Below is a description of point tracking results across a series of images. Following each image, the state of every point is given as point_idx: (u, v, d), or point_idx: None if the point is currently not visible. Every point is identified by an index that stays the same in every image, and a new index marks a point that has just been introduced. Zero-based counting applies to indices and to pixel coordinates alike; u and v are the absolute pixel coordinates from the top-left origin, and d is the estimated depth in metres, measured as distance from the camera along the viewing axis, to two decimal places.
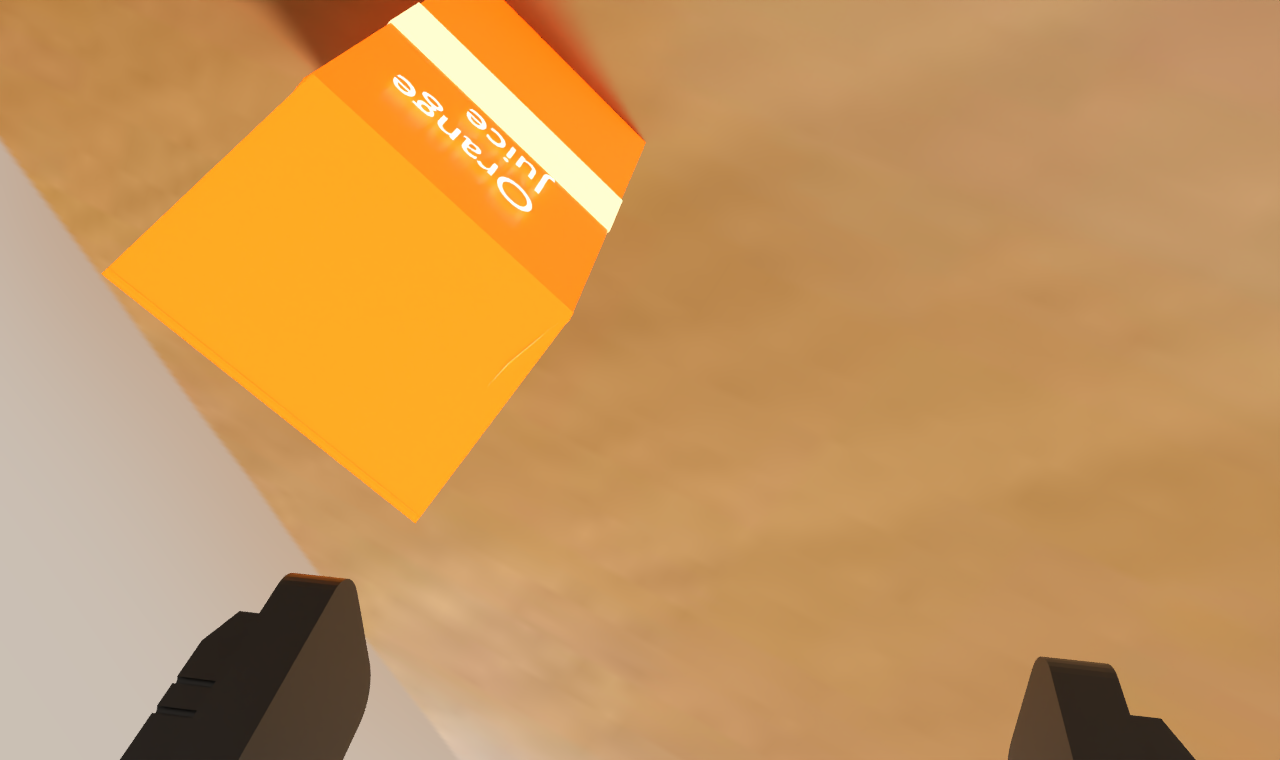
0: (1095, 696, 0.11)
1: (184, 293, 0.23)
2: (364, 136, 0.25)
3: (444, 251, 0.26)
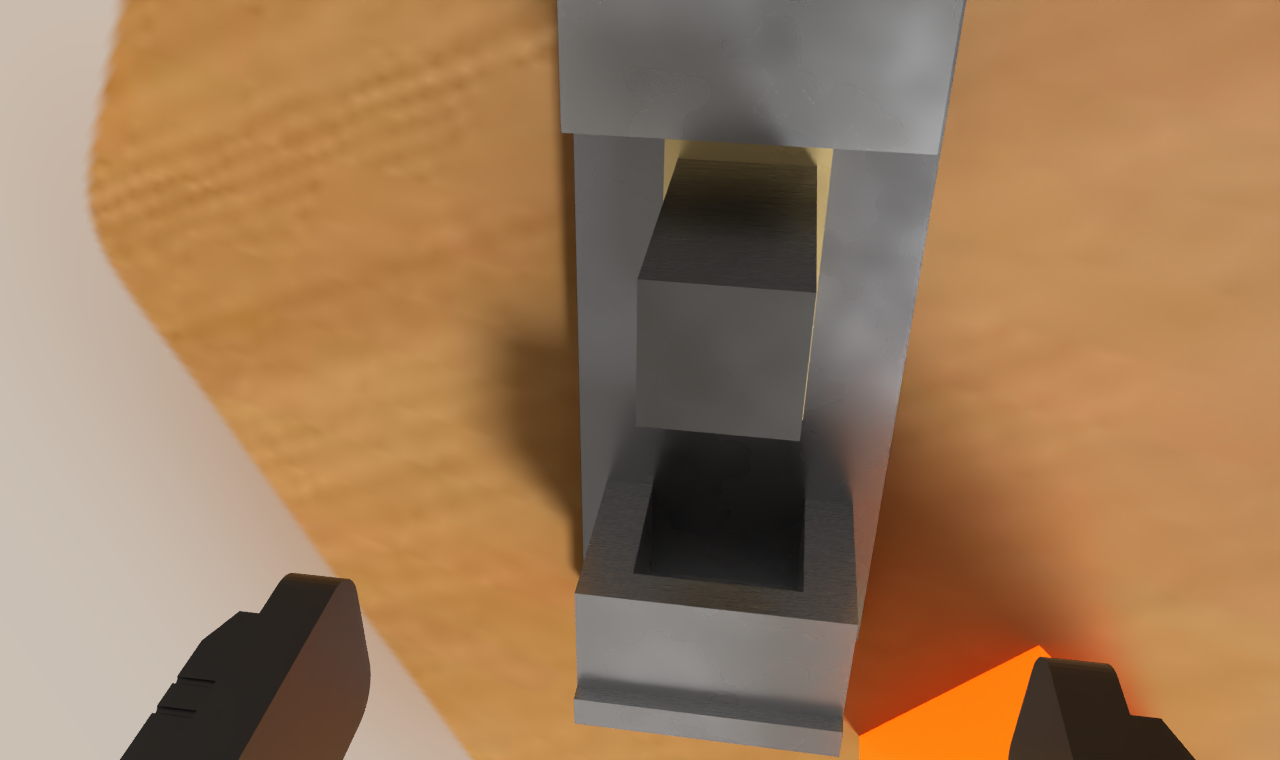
0: (1095, 696, 0.11)
1: None
2: None
3: None
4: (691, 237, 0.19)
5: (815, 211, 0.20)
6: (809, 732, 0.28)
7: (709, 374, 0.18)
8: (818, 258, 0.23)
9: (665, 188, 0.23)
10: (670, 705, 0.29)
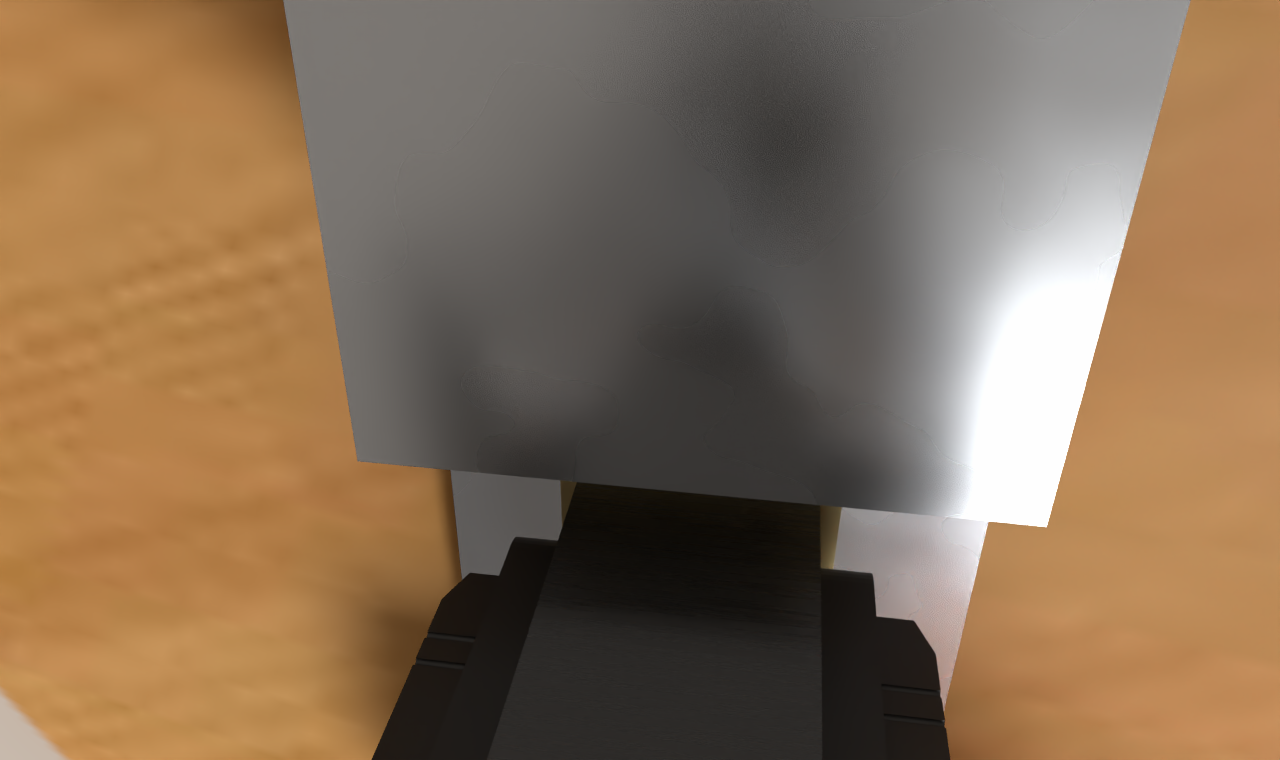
0: (849, 597, 0.12)
1: None
2: None
3: None
4: (576, 727, 0.10)
5: (818, 629, 0.11)
6: None
7: None
8: None
9: (564, 505, 0.14)
10: None
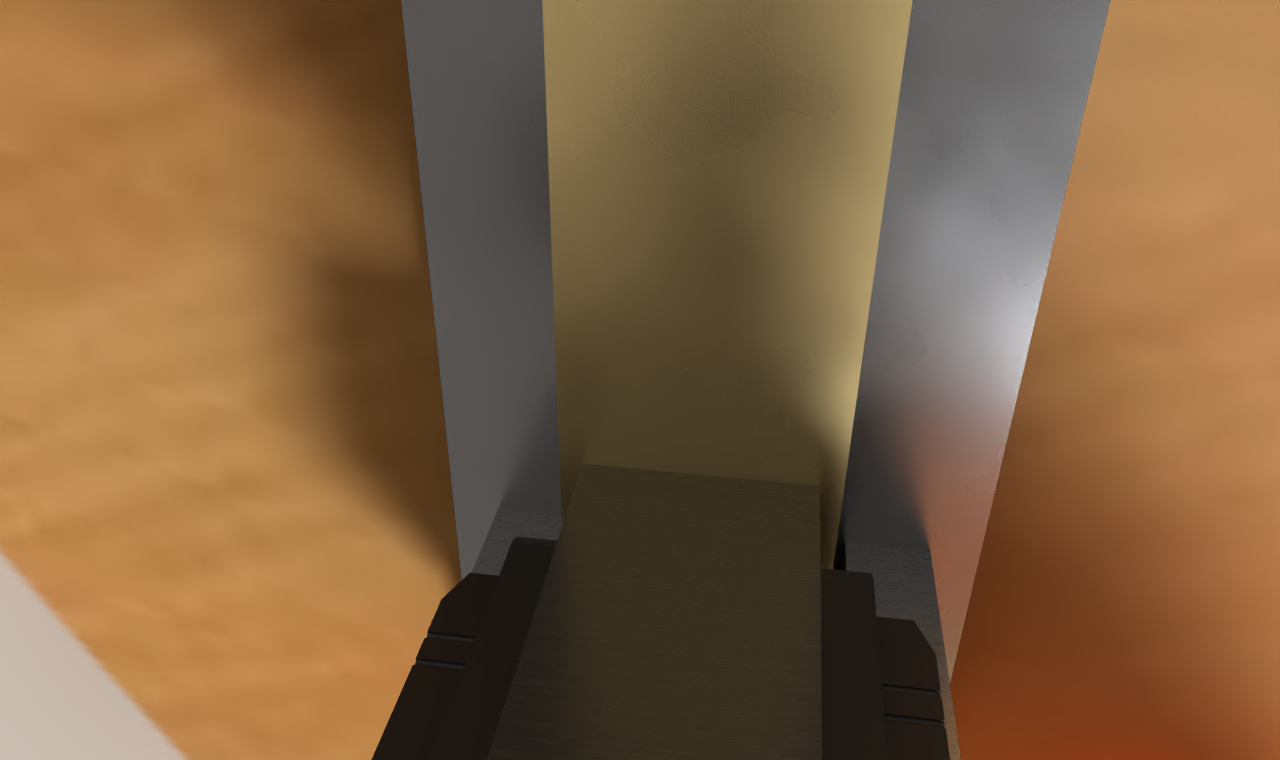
0: (849, 598, 0.12)
1: None
2: None
3: None
4: (575, 727, 0.10)
5: (818, 629, 0.11)
6: None
7: None
8: None
9: (564, 505, 0.14)
10: None
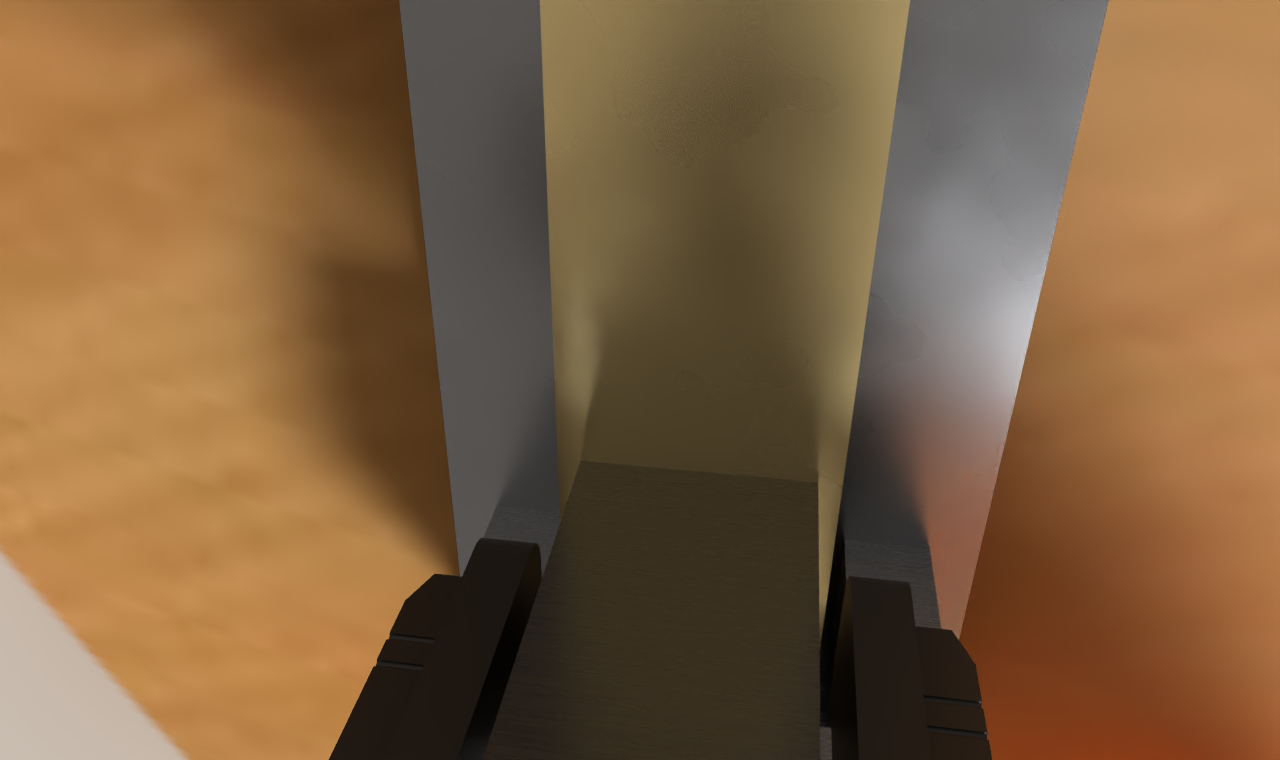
0: (887, 607, 0.12)
1: None
2: None
3: None
4: (573, 723, 0.10)
5: (816, 625, 0.11)
6: None
7: None
8: (820, 612, 0.14)
9: (562, 502, 0.14)
10: None
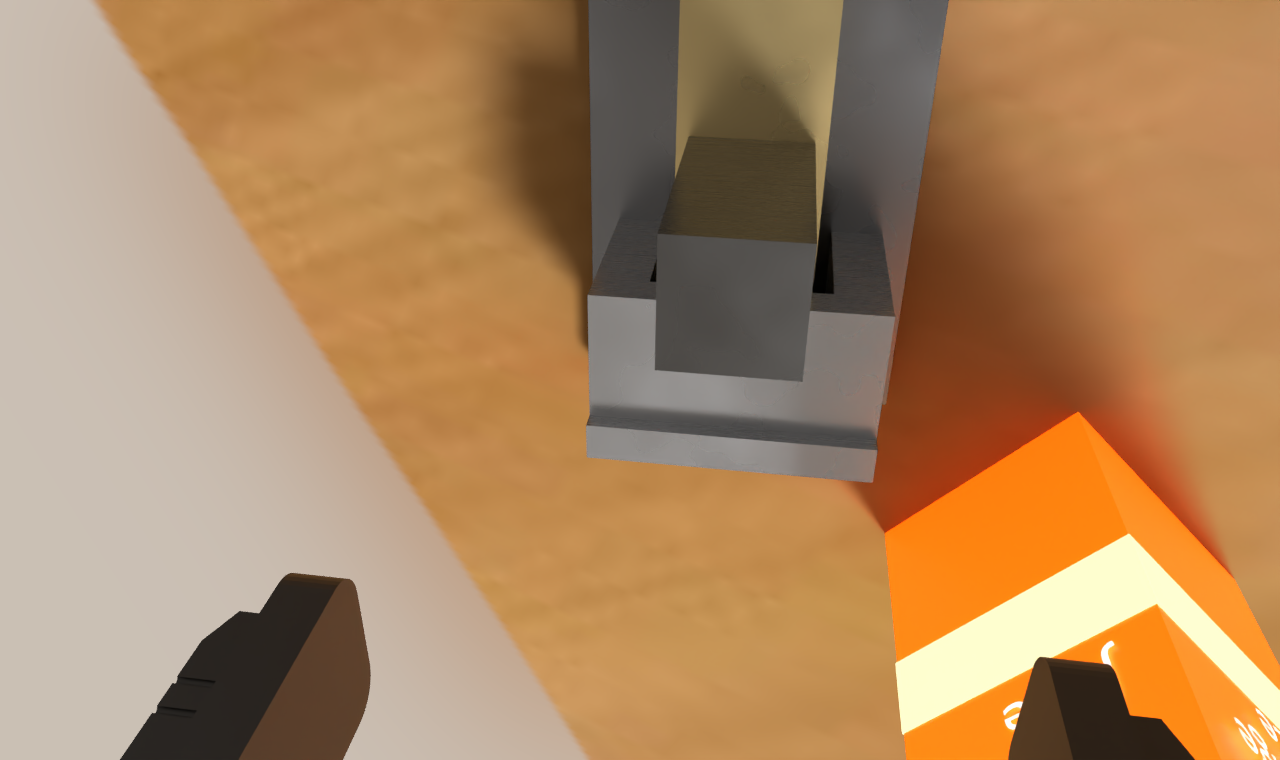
0: (1095, 696, 0.11)
1: None
2: None
3: None
4: (704, 200, 0.21)
5: (814, 179, 0.22)
6: (841, 453, 0.26)
7: (721, 320, 0.20)
8: (817, 227, 0.25)
9: (677, 164, 0.25)
10: (690, 430, 0.27)
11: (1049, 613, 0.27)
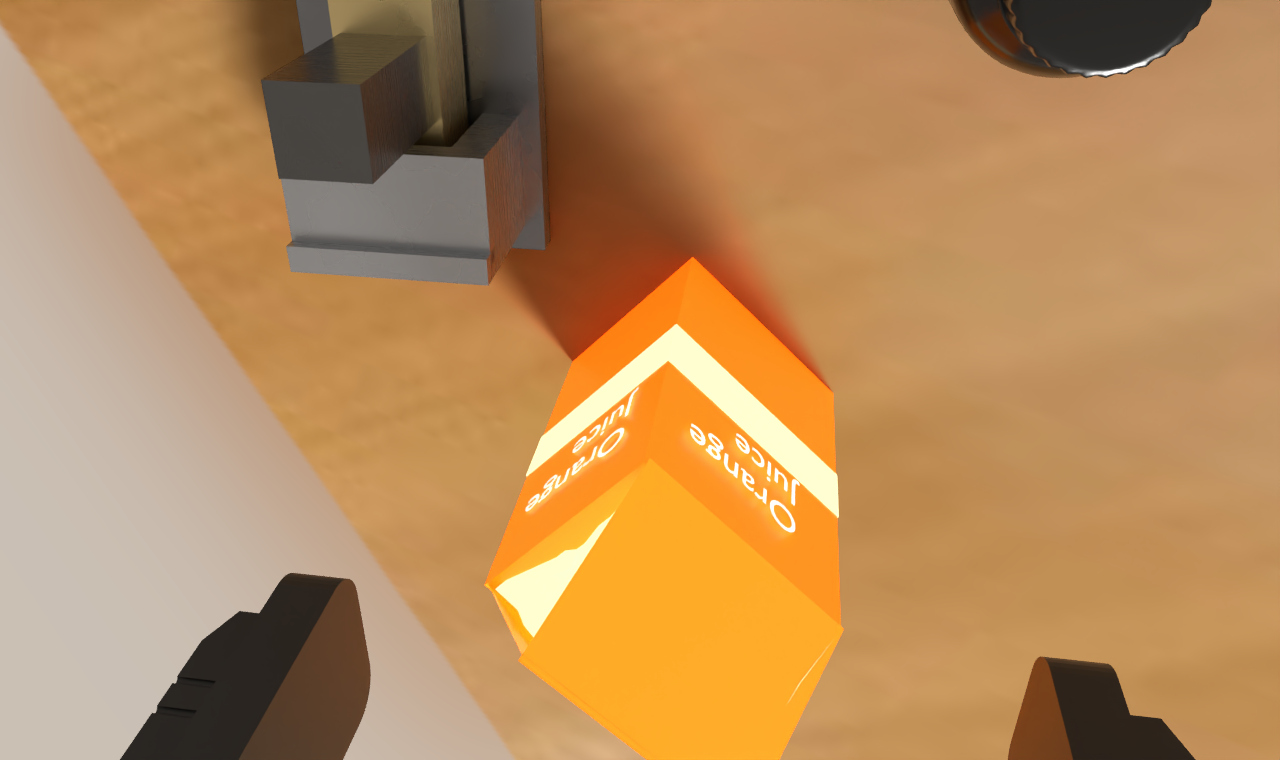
0: (1095, 696, 0.11)
1: (574, 666, 0.28)
2: (688, 504, 0.31)
3: (749, 593, 0.31)
4: (311, 64, 0.32)
5: (399, 54, 0.33)
6: (462, 262, 0.37)
7: (313, 140, 0.31)
8: (438, 99, 0.36)
9: None
10: (359, 248, 0.37)
11: (621, 382, 0.38)
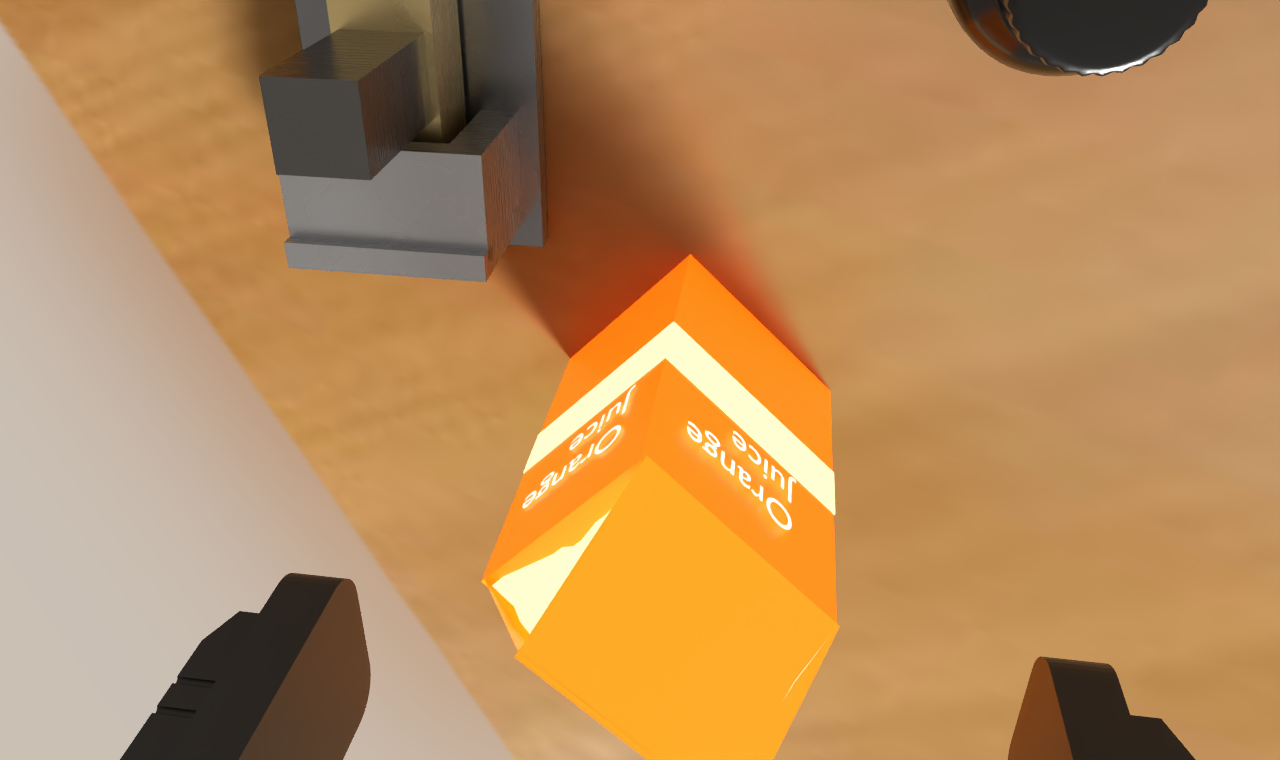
0: (1095, 695, 0.11)
1: (570, 662, 0.28)
2: (685, 501, 0.31)
3: (746, 591, 0.31)
4: (309, 60, 0.32)
5: (397, 50, 0.33)
6: (460, 259, 0.37)
7: (310, 137, 0.31)
8: (436, 96, 0.36)
9: None
10: (357, 245, 0.37)
11: (619, 380, 0.38)
